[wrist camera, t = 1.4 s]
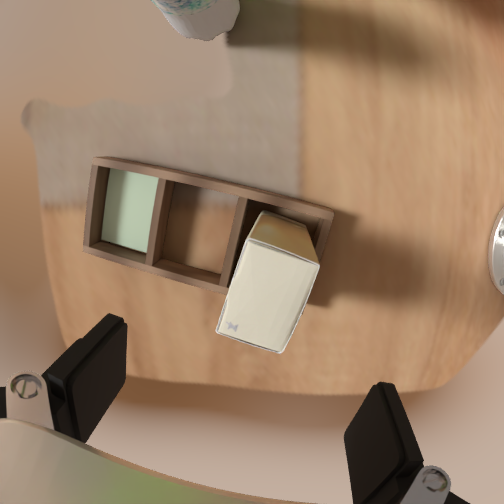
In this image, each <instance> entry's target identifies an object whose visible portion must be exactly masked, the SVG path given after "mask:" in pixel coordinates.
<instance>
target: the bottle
mask: <svg viewBox="0 0 504 504" xmlns="http://www.w3.org/2000/svg"><path fill="white" fill-rule="evenodd" d="M151 1H152V2H153V3H154V4H155V5H156V6H157V7H158V8H159V9H160V10H161V11H162V13H163V14H164V16H165V17H166V19H167V20H168V21H169V23H170V24H171V25H172V26H173V28H174V29H175V30H177V31H178V32H179V33H180V34H181V35H183V36H184V37H186V38H194V39H200V40H204V41H209V40H213V39H214V38H215V36H217V35H219V34H221V33H223V32H228V31H230V30H231V29H232V28H233V26H234V23H235V20H236V18H237V16H238V13H239V11H240V4H239V0H151Z"/></svg>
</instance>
